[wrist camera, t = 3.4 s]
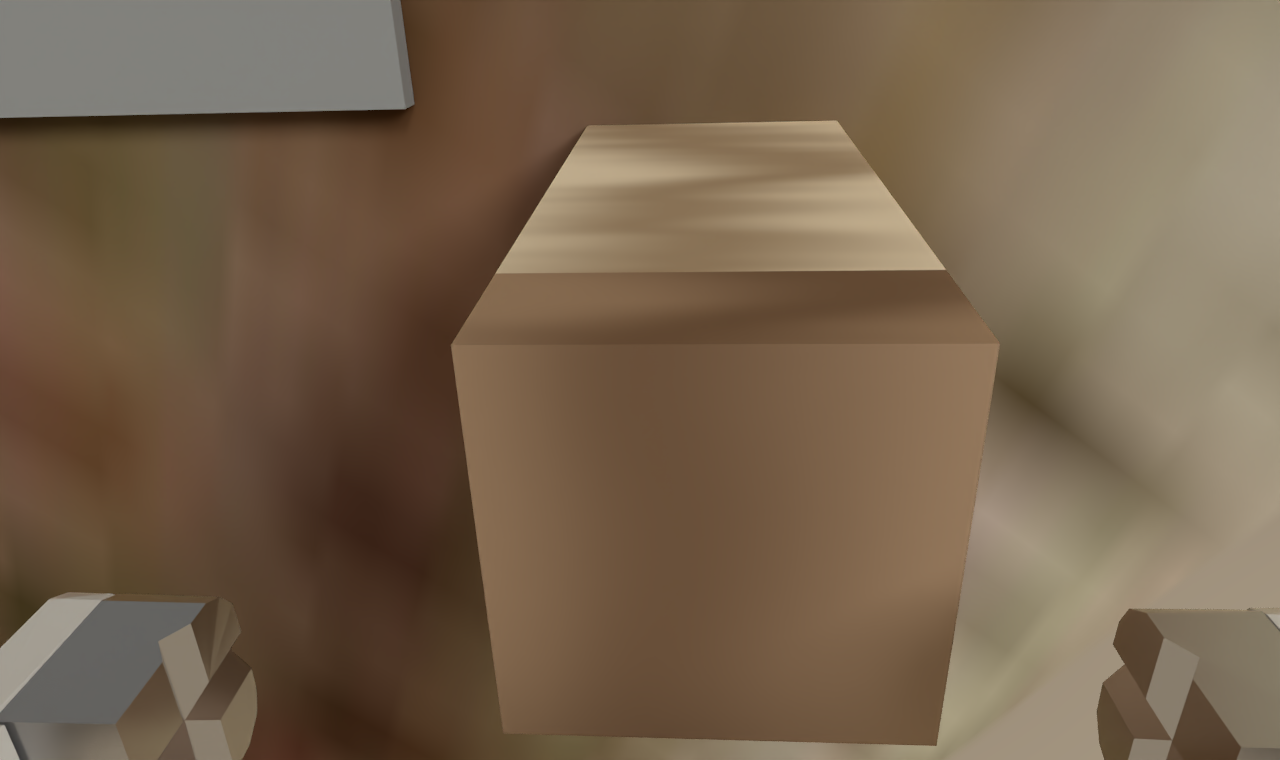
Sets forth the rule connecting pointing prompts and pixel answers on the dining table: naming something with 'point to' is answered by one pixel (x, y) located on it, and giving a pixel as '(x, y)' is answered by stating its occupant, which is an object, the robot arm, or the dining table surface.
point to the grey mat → (201, 57)
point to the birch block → (723, 444)
